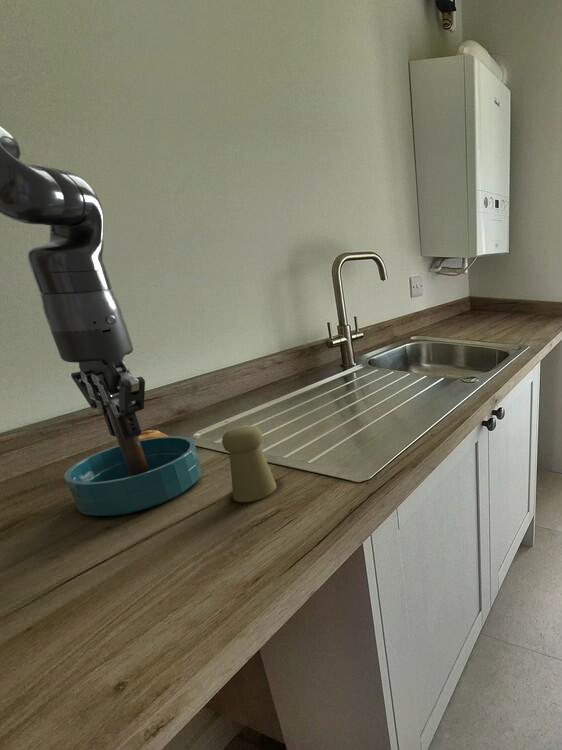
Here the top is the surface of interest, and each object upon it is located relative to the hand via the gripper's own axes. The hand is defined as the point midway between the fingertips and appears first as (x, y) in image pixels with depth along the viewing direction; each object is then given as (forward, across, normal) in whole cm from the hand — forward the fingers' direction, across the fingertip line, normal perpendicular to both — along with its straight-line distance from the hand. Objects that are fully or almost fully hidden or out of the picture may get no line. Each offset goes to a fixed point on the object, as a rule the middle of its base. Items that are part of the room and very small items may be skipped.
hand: (126, 435), depth 63 cm
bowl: (+10, 0, 0) cm, 10 cm away
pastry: (+10, -13, +8) cm, 18 cm away
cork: (+10, +17, +6) cm, 21 cm away
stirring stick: (+9, 0, 0) cm, 9 cm away
